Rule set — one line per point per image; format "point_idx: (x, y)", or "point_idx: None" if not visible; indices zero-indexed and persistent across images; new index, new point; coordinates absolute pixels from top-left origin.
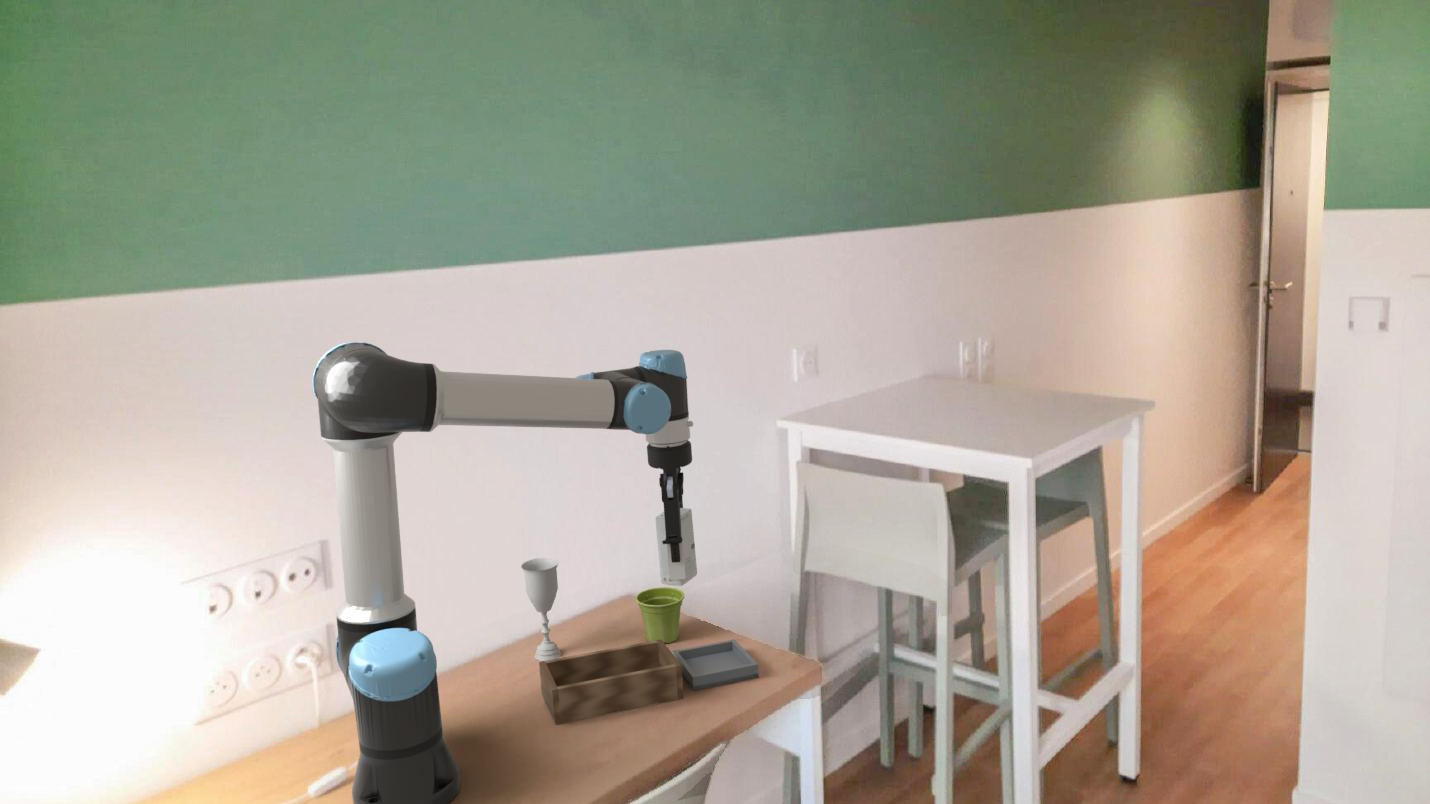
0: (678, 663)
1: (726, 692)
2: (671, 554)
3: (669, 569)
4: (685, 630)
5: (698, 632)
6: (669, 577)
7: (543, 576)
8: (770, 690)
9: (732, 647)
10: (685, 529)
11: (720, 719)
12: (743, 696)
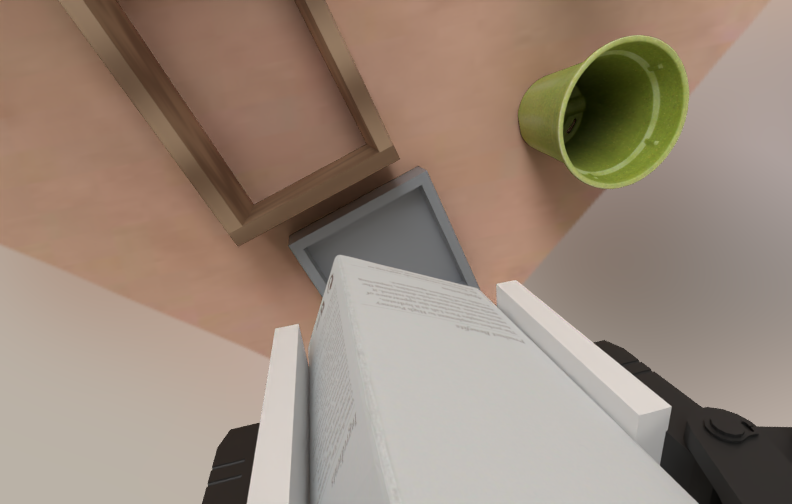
0: (247, 237)
1: (290, 298)
2: (209, 486)
3: (270, 365)
4: None
5: (567, 190)
6: (274, 335)
7: None
8: None
9: (463, 283)
10: None
11: (168, 311)
12: None
